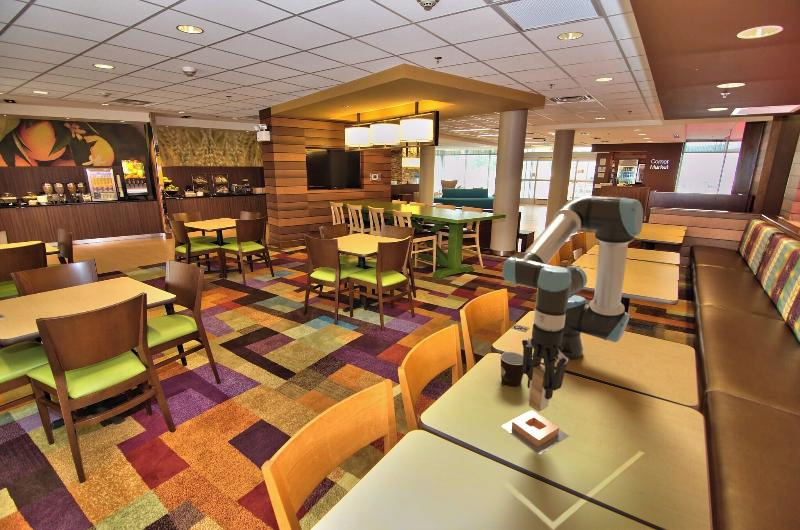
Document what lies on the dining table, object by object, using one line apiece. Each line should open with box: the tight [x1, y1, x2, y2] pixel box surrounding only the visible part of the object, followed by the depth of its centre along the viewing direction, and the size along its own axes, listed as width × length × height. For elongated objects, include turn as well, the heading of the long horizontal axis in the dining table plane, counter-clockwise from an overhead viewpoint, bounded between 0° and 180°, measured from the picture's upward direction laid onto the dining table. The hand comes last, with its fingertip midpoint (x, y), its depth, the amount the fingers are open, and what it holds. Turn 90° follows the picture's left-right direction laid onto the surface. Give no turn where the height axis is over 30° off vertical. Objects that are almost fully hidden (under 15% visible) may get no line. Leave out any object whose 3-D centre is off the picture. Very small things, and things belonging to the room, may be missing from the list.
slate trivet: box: [501, 410, 570, 456], centre depth 107 cm, size 13×13×1 cm
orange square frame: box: [511, 409, 560, 447], centre depth 106 cm, size 9×9×2 cm
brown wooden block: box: [528, 363, 546, 413], centre depth 102 cm, size 3×3×12 cm
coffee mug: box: [500, 351, 525, 388], centre depth 131 cm, size 12×9×10 cm
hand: (537, 403), depth 104 cm, fingers closed on brown wooden block, 3 cm apart
